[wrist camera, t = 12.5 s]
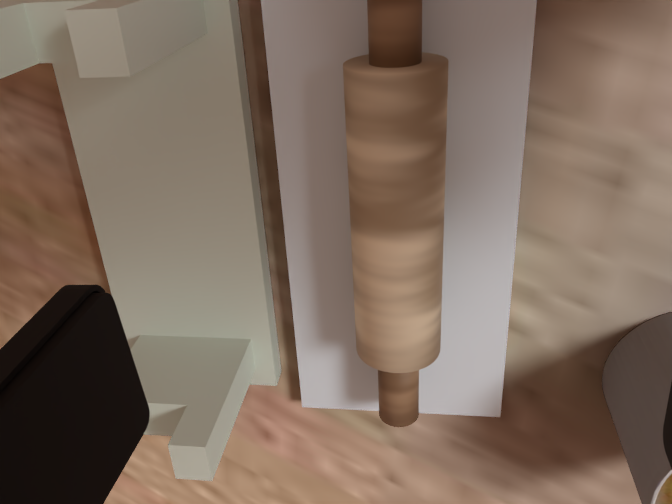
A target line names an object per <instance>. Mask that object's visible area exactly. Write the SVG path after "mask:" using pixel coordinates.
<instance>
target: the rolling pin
mask: <svg viewBox="0 0 672 504" xmlns="http://www.w3.org/2000/svg"><path fill="white" fill-rule="evenodd" d="M367 12H368V46H369V54H367V55H362V56H358V57H354V58H351V59H349V60H347V61H345V62H344V63H343V79H344V100H345V121H346V142H347V163H348V184H349V205H350V226H351V247H352V268H353V289H354V309H355V330H356V349H357V353H358V355H359V357H360V358H361V360H362V361H363V362H364V363H366V364H367V365H369V366H370V367H372V368H375V369H377V370H378V392H379V416H380V418H381V419H382V421H383V422H385V423H386V424H388V425H390V426H394V427H404V426H408V425H411V424H412V423H414V422H415V421H416V420H417V418H418V415H419V370H420V369H423V368H425V367H427V366H429V365H430V364H432V363H433V362H434V361H435V360H436V359H437V357H438V356H439V353H440V346H441V311H442V275H443V240H444V204H445V169H446V133H447V98H448V62H449V61H448V59H447V58H446V57H444V56H441V55H438V54H433V53H425V52H422V0H367Z"/></svg>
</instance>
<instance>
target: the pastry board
mask: <svg viewBox="0 0 672 504" xmlns="http://www.w3.org/2000/svg"><path fill="white" fill-rule="evenodd" d="M536 6H537V0H422V52H425V53H433V54H438V55H441V56H444V57H446V58H447V59H448V61H449V62H448V98H447V133H446V169H445V204H444V240H443V275H442V311H441V346H440V353H439V356H438V357H437V359H436V360H435V361H434V362H433V363H432V364H430V365H429V366H427V367H425V368H423V369H420V370H419V413H428V414H448V415H467V416H487V417H500V415H501V404H502V393H503V381H504V370H505V358H506V347H507V336H508V324H509V313H510V302H511V290H512V279H513V267H514V256H515V245H516V233H517V222H518V211H519V199H520V188H521V176H522V165H523V154H524V142H525V131H526V120H527V108H528V97H529V85H530V74H531V63H532V51H533V40H534V29H535V17H536ZM261 7H262V17H263V27H264V37H265V47H266V56H267V66H268V76H269V86H270V96H271V105H272V115H273V125H274V135H275V145H276V154H277V164H278V174H279V184H280V194H281V203H282V213H283V223H284V233H285V243H286V252H287V262H288V272H289V282H290V292H291V301H292V311H293V321H294V331H295V341H296V350H297V360H298V370H299V380H300V390H301V399H302V407H311V408H330V409H350V410H369V411H379V392H378V370H377V369H375V368H372V367H370V366H369V365H367V364H366V363H364V362H363V361H362V360H361V358H360V357H359V355H358V353H357V349H356V330H355V309H354V289H353V268H352V247H351V226H350V205H349V184H348V163H347V142H346V121H345V100H344V79H343V63H344V62H345V61H347V60H349V59H351V58H354V57H358V56H362V55H367V54H369V46H368V12H367V0H261Z"/></svg>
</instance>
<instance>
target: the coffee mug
mask: <svg viewBox="0 0 672 504" xmlns="http://www.w3.org/2000/svg"><path fill="white" fill-rule="evenodd" d="M671 382H672V312H670V313H666V314H663V315H660V316H658V317H655V318H653V319H651V320H648V321H646V322H644V323H643V324H641V325H639V326H638V327H636V328H635V329H633V330H632V331H631V332H629V333H628V334H627V335H626V336H625V337H624V338H622V339H621V340H620V341H619V343H618V344H617V345H616V346H615V347H614V349H613V350H612V352H611V353H610V355H609V356H608V358H607V361H606V363H605V366H604V370H603V375H602V388H603V393H604V396H605V399H606V402H607V405H608V408H609V411H610V414H611V416H612V419H613V422H614V425H615V428H616V431H617V434H618V436H619V439H620V442H621V445H622V448H623V451H624V454H625V457H626V459H627V462H628V465H629V468H630V471H631V474H632V477H633V479H634V482H635V485H636V488H637V491H638V494H639V497H640V499H641V502H642V504H672V469H671V466H670V463H669V461H668V458H667V455H666V452H665V449H664V443H663V425H664V420H665V415H666V409H667V404H668V398H669V393H670V388H671Z"/></svg>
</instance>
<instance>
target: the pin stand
mask: <svg viewBox="0 0 672 504" xmlns="http://www.w3.org/2000/svg"><path fill="white" fill-rule="evenodd" d="M39 63H52V64H53V68H54V72H55V76H56V80H57V84H58V88H59V92H60V96H61V100H62V103H63V107H64V111H65V115H66V119H67V123H68V127H69V131H70V135H71V139H72V142H73V146H74V150H75V154H76V158H77V162H78V166H79V170H80V174H81V177H82V181H83V185H84V189H85V193H86V197H87V201H88V205H89V209H90V213H91V216H92V220H93V224H94V228H95V232H96V236H97V240H98V244H99V248H100V252H101V255H102V259H103V263H104V267H105V271H106V275H107V279H108V283H109V287H110V290H111V294H112V297H113V299H114V301H115V304H116V307H117V310H118V313H119V316H120V320H121V323H122V326H123V329H124V332H125V335H126V338H127V341H128V344H129V347H130V350H131V353H132V357H133V360H134V363H135V366H136V369H137V372H138V375H139V378H140V381H141V384H142V387H143V390H144V394H145V397H146V400H147V403H148V406H149V411H150V417H149V423H148V426H147V429H146V431H145V432H144V434H145V435H161V436H172V437H171V440H170V442H169V444H168V448H169V452H170V456H171V460H172V465H173V469H174V473H175V477H176V479H190V480H204V481H212V480H213V478H214V475H215V472H216V470H217V467H218V465H219V462H220V459H221V457H222V454H223V452H224V449H225V447H226V444H227V441H228V439H229V436H230V434H231V431H232V428H233V426H234V423H235V421H236V418H237V415H238V413H239V410H240V408H241V405H242V402H243V400H244V397H245V395H246V392H247V389H248V387H249V384H251V385H272V386H277V383H278V380H279V377H280V374H281V363H280V355H279V346H278V338H277V329H276V321H275V313H274V304H273V296H272V287H271V279H270V270H269V262H268V253H267V245H266V236H265V228H264V219H263V211H262V202H261V194H260V185H259V177H258V168H257V160H256V151H255V143H254V134H253V126H252V117H251V109H250V101H249V92H248V84H247V75H246V67H245V58H244V50H243V41H242V33H241V24H240V16H239V7H238V0H0V79H1V78H4V77H6V76H9V75H11V74H14V73H16V72H19V71H21V70H24V69H26V68H29V67H31V66H34V65H36V64H39Z"/></svg>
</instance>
